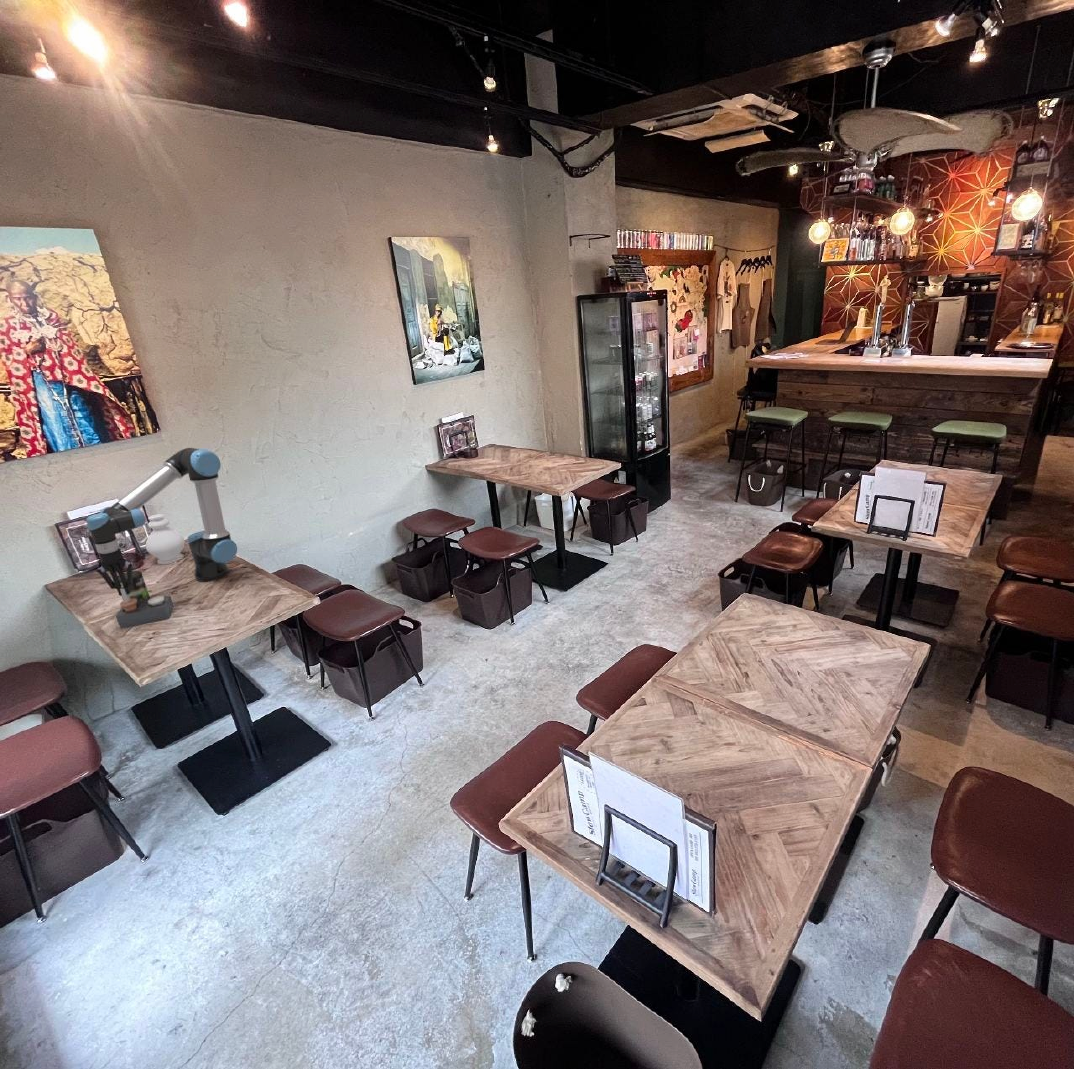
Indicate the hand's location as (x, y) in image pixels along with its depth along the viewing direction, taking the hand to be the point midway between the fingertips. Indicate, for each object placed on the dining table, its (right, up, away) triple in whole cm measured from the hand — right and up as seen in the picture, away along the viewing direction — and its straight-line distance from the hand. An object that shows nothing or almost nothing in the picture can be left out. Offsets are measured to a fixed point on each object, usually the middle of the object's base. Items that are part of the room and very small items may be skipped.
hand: (127, 601), depth 246 cm
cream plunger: (+10, -6, +6) cm, 13 cm away
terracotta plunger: (+1, -6, +3) cm, 7 cm away
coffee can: (-9, -3, +19) cm, 22 cm away
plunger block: (+5, -8, +5) cm, 11 cm away
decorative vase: (-24, +15, +67) cm, 73 cm away
